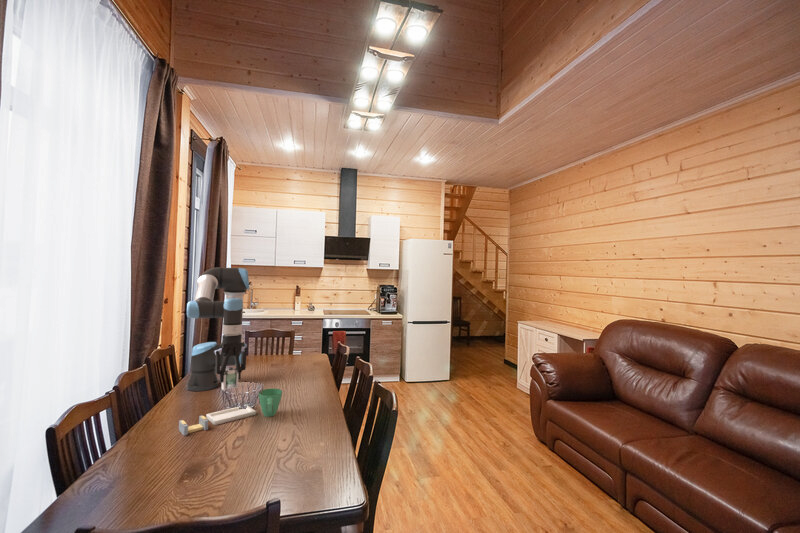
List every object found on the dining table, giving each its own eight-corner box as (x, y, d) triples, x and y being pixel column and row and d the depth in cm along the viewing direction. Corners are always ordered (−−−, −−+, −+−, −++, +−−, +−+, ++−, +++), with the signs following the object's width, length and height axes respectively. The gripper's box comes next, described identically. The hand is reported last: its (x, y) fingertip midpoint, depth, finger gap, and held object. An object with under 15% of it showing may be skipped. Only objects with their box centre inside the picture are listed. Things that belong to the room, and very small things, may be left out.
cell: (222, 386, 155) (223, 367, 155) (233, 384, 158) (234, 366, 158) (226, 389, 152) (226, 369, 152) (237, 387, 155) (237, 368, 155)
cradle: (178, 429, 141) (179, 419, 141) (202, 424, 147) (202, 414, 147) (184, 435, 136) (184, 425, 136) (208, 429, 142) (208, 419, 142)
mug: (258, 411, 162) (259, 389, 162) (281, 409, 165) (281, 387, 165) (256, 424, 148) (257, 400, 148) (281, 422, 151) (282, 398, 151)
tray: (206, 418, 153) (206, 414, 153) (246, 408, 165) (246, 404, 165) (214, 425, 146) (214, 421, 146) (255, 414, 158) (255, 411, 158)
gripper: (213, 337, 147) (210, 394, 146) (255, 333, 159) (253, 386, 158) (207, 334, 152) (204, 390, 152) (249, 331, 164) (247, 382, 164)
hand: (229, 388), depth 155 cm, fingers closed on cell, 4 cm apart
